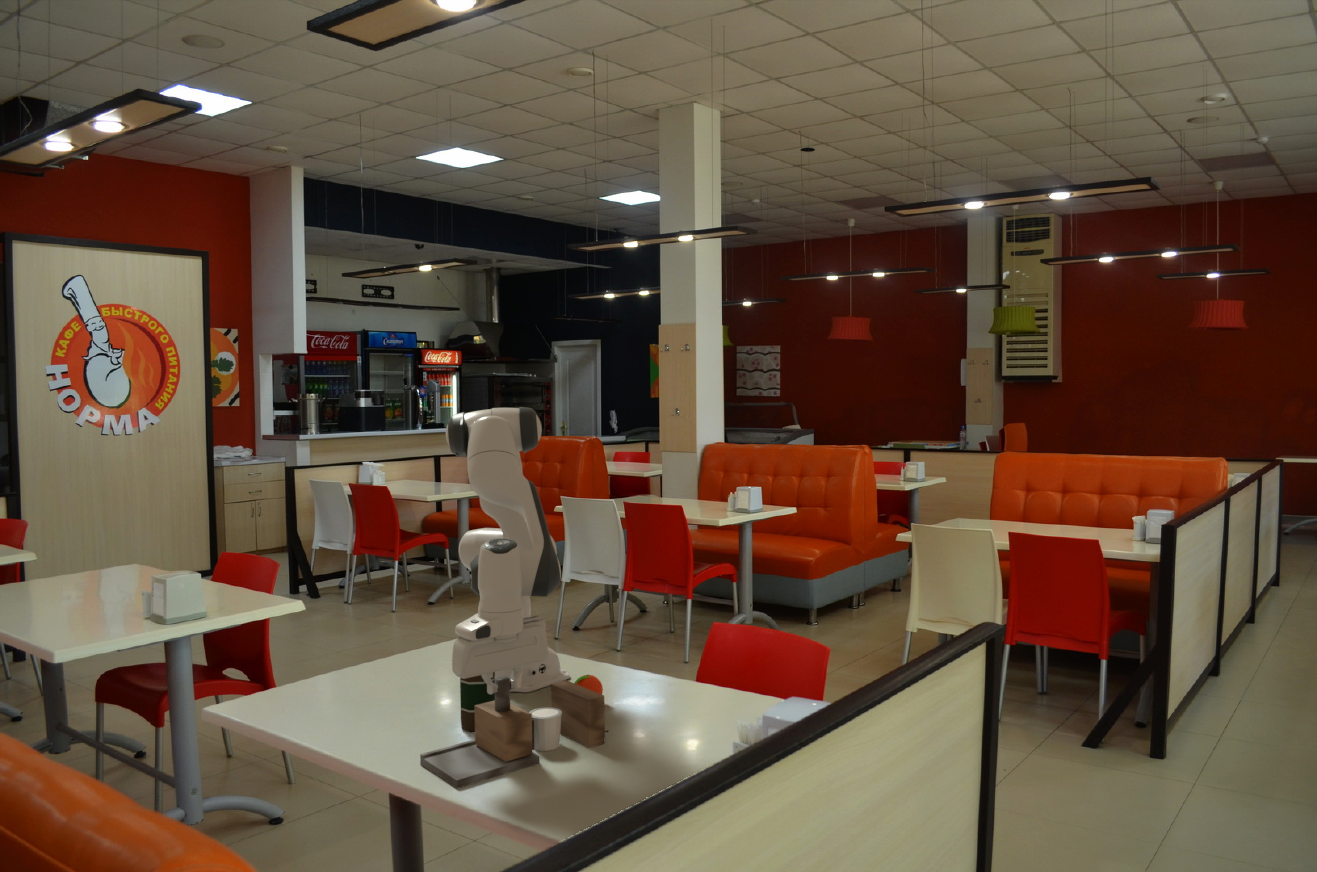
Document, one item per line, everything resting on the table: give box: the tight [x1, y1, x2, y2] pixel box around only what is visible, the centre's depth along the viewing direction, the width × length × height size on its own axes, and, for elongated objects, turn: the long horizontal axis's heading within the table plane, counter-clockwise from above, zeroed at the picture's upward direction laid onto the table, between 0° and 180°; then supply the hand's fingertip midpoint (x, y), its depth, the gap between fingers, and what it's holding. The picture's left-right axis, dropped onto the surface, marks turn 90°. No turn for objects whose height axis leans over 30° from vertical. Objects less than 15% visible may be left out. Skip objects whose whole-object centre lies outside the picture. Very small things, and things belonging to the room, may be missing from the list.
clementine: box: [573, 674, 604, 695], centre depth 220 cm, size 8×7×7 cm
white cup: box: [528, 706, 562, 752], centre depth 195 cm, size 7×7×7 cm
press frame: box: [419, 679, 606, 789], centre depth 191 cm, size 34×15×10 cm, turn 130°
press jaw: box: [474, 677, 535, 762], centre depth 188 cm, size 7×12×14 cm, turn 40°
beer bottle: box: [459, 672, 495, 733], centre depth 206 cm, size 8×8×24 cm
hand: (502, 690), depth 188 cm, fingers closed on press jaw, 3 cm apart
